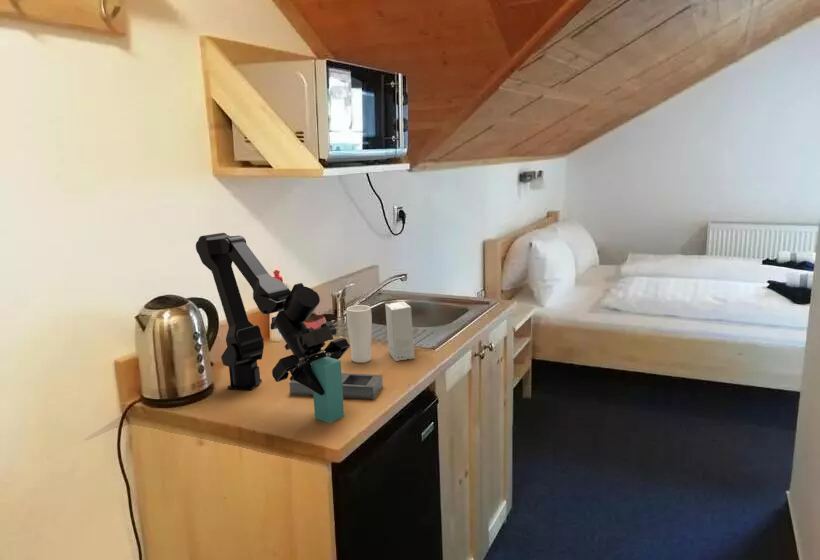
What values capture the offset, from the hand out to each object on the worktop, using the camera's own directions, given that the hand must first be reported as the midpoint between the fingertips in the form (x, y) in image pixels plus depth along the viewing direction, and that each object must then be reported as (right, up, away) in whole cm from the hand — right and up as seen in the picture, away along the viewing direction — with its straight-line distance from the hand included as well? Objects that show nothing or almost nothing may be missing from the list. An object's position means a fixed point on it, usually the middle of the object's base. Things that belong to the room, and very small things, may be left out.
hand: (332, 390), depth 139 cm
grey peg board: (-1, -3, +17) cm, 18 cm away
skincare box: (+14, +2, +41) cm, 43 cm away
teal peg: (-1, -6, +2) cm, 7 cm away
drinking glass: (+3, +2, +38) cm, 39 cm away
